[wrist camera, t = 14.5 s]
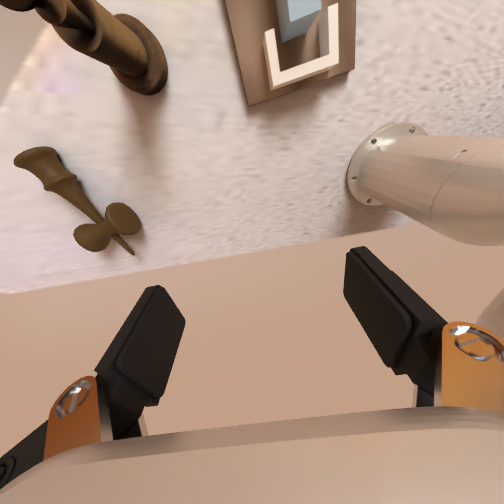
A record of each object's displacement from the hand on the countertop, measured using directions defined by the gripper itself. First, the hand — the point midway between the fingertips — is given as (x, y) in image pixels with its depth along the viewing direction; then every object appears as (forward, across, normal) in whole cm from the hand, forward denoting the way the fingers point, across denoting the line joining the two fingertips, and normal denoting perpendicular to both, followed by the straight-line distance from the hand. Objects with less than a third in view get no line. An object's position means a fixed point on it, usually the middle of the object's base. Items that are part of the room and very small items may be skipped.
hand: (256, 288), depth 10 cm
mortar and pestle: (+27, +10, -17) cm, 33 cm away
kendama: (+27, +28, -1) cm, 39 cm away
